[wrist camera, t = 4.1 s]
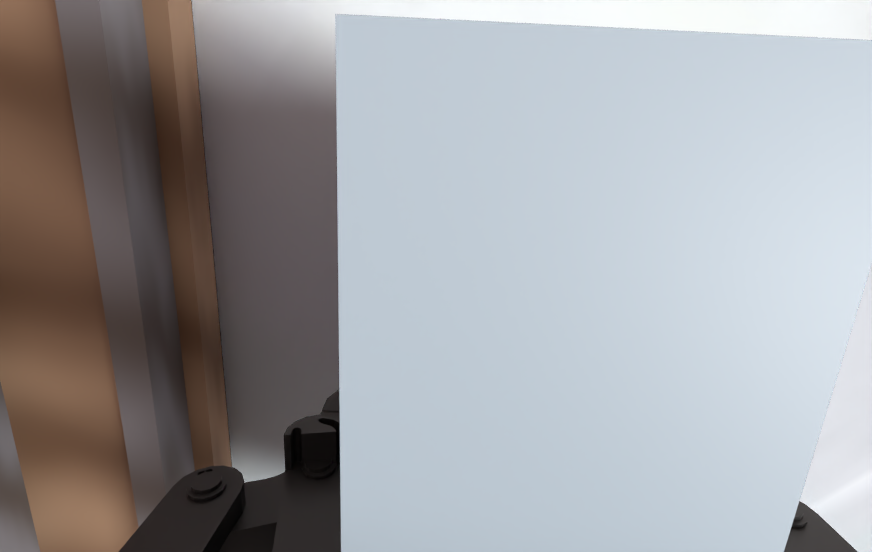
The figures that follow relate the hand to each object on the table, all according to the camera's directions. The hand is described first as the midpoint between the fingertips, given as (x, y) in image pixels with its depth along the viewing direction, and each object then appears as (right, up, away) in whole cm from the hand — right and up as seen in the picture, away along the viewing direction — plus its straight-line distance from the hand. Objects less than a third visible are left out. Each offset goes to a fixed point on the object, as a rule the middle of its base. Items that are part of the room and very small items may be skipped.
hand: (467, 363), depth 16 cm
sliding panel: (0, +1, +3) cm, 3 cm away
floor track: (-15, +2, +3) cm, 15 cm away
